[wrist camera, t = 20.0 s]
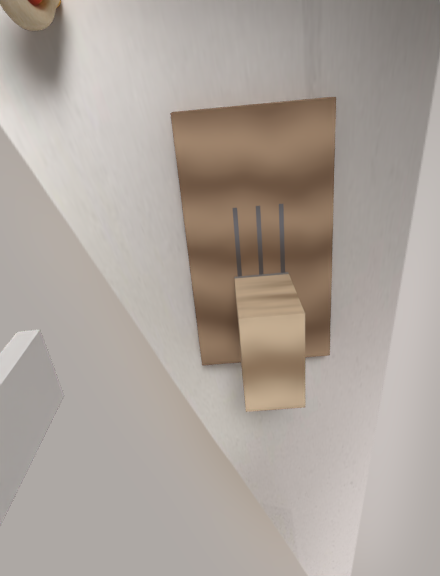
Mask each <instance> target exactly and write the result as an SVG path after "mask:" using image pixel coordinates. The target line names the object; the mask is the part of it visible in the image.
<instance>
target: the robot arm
mask: <svg viewBox="0 0 440 576" xmlns="http://www.w3.org/2000/svg"><path fill="white" fill-rule="evenodd" d="M63 397H64V394H63V391H62V388H61V385H60V383H59V380H58V377H57V374H56V372H55V369H54V366H53V364H52V361H51V358H50V355H49V353H48V350H47V347H46V344H45V342H44V339H43V336H42V333H41V330H30V331H20V332H17V333H16V334H15V335H14V336H13V338H12V339H11V341H10V342H9V343H8V344H7V345H6V346H5V348H4V349H3V350H2V351H1V353H0V526H1V524H2V522H3V520H4V518H5V516H6V514H7V512H8V510H9V507H10V506H11V503H12V501H13V499H14V497H15V495H16V493H17V491H18V489H19V487H20V485H21V483H22V481H23V479H24V477H25V475H26V473H27V471H28V469H29V467H30V465H31V463H32V461H33V458H34V457H35V454H36V452H37V450H38V448H39V446H40V444H41V442H42V440H43V438H44V436H45V434H46V432H47V430H48V428H49V426H50V424H51V422H52V420H53V418H54V415H55V414H56V412H57V409H58V407H59V405H60V403H61V401H62V399H63Z"/></svg>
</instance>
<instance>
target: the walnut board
mask: <svg viewBox="0 0 440 576" xmlns="http://www.w3.org/2000/svg"><path fill="white" fill-rule="evenodd" d="M335 119H336V97H325V98H315V99H304V100H294V101H283V102H273V103H262V104H252V105H241V106H231V107H220V108H210V109H199V110H189V111H178V112H172V113H171V121H172V129H173V137H174V144H175V152H176V160H177V168H178V176H179V184H180V192H181V200H182V208H183V216H184V224H185V232H186V240H187V248H188V256H189V264H190V272H191V279H192V287H193V295H194V303H195V311H196V319H197V327H198V335H199V343H200V351H201V359H202V365H214V364H226V363H239V362H241V355H240V343H239V330H238V317H237V304H236V292H235V279H234V277H238V276H250V275H262V274H274V273H286V272H288V273H289V275H290V278H291V280H292V283H293V285H294V288H295V290H296V292H297V295H298V297H299V300H300V302H301V305H302V307H303V309H304V312H305V357H315V356H327V355H330V317H331V278H332V238H333V198H334V158H335Z"/></svg>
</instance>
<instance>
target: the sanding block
mask: <svg viewBox="0 0 440 576" xmlns="http://www.w3.org/2000/svg"><path fill="white" fill-rule="evenodd" d="M234 279H235V292H236V304H237V317H238V330H239V343H240V355H241V366H242V376H243V386H244V397H245V407H246V412H250V411H263V410H276V409H289V408H302V407H305V312H304V309H303V307H302V305H301V302H300V300H299V297H298V295H297V292H296V290H295V288H294V285H293V283H292V280H291V278H290V275H289V273H288V272H286V273H274V274H262V275H250V276H238V277H234Z"/></svg>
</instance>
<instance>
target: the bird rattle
mask: <svg viewBox="0 0 440 576" xmlns="http://www.w3.org/2000/svg"><path fill="white" fill-rule="evenodd" d="M60 4H61V0H0V5H1V7H2V8H3V9H4V11H5V12H6V13H7V15H8V16H9V17H10V18H11V19H12V20H13V21H14V22H15V23H16V24H17V25H19V26H20V27H22V28H24V29H26V30H30V31H39V30H43V29H46V28H47V27H48V26H49V25H50V24H51V23H52V21H53V19H54V16H55V12H56V8H57V7H58V6H59V5H60Z"/></svg>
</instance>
